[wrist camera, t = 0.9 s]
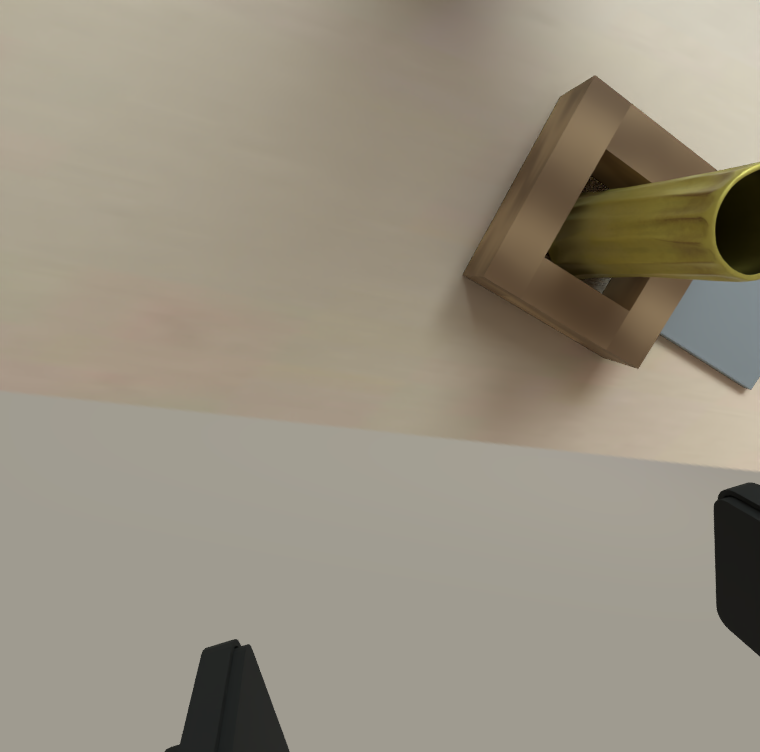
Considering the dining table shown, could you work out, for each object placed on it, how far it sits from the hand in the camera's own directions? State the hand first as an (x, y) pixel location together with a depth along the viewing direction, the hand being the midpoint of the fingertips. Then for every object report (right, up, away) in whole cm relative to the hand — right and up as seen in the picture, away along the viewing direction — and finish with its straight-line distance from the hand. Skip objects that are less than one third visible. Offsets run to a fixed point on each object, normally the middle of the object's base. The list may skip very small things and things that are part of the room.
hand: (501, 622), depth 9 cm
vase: (+13, +15, +27) cm, 33 cm away
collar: (+13, +15, +26) cm, 33 cm away
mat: (+26, +11, +30) cm, 41 cm away
